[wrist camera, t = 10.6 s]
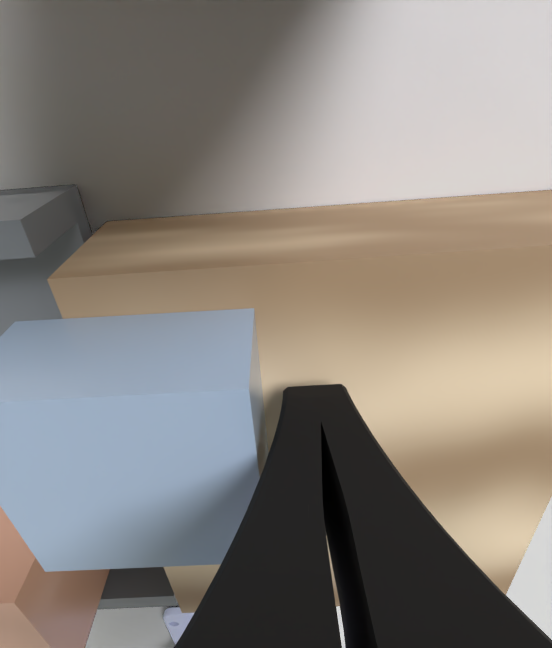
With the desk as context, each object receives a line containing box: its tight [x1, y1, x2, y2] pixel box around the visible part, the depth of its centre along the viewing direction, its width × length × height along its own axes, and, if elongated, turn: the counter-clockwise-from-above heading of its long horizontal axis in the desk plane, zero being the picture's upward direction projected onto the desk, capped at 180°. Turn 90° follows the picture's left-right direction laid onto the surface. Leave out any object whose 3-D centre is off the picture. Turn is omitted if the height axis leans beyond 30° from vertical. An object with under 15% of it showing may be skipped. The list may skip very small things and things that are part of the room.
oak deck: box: [47, 190, 552, 613], centre depth 13 cm, size 14×12×4 cm
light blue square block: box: [0, 308, 269, 572], centre depth 9 cm, size 5×5×2 cm
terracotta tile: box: [0, 506, 110, 648], centre depth 14 cm, size 5×5×2 cm
